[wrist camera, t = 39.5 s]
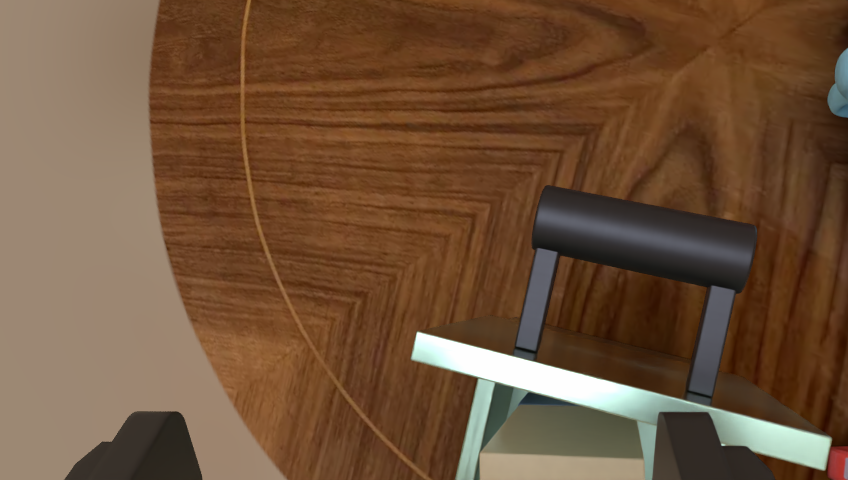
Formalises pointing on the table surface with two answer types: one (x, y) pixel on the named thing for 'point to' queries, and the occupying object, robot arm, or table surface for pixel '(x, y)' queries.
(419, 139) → the table surface
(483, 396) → the green storage bin
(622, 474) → the carton
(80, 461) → the robot arm
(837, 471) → the toy airplane
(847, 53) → the teapot
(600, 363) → the lid
